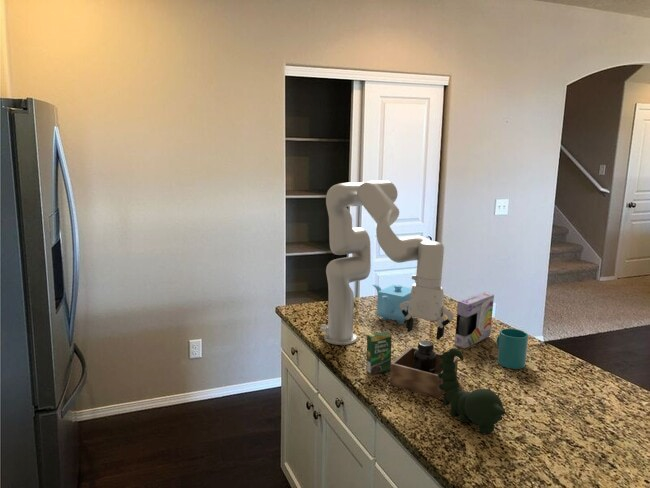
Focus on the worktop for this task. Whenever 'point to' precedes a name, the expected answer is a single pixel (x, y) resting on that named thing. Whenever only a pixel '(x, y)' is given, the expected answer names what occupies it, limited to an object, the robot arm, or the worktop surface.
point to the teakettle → (392, 302)
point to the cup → (512, 348)
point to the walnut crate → (417, 375)
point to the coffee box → (378, 352)
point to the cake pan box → (473, 319)
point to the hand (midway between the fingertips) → (424, 334)
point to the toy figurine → (468, 397)
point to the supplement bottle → (425, 357)
